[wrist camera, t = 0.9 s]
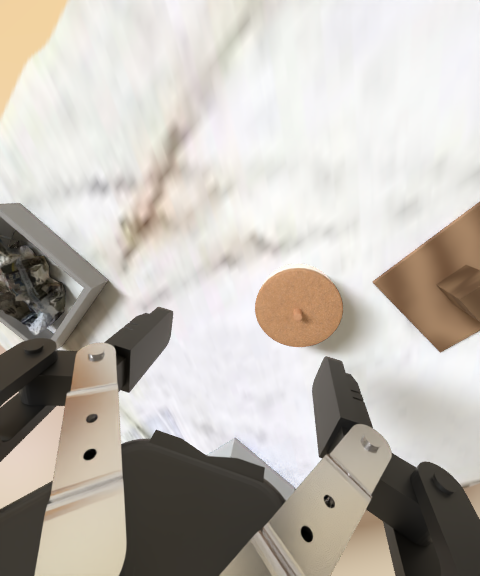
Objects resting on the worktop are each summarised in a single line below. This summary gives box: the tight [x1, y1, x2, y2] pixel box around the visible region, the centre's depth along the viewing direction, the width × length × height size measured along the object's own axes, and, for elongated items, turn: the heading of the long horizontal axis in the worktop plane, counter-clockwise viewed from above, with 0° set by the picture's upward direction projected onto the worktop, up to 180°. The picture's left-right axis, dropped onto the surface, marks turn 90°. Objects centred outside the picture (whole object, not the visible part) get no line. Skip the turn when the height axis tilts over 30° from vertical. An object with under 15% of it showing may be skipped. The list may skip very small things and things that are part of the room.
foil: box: [0, 235, 65, 335], centre depth 44 cm, size 12×11×15 cm
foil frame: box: [0, 203, 108, 349], centre depth 45 cm, size 21×19×4 cm
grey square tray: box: [207, 438, 294, 501], centre depth 54 cm, size 18×18×4 cm
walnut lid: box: [373, 202, 480, 352], centre depth 31 cm, size 15×15×6 cm
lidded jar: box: [255, 263, 343, 347], centre depth 33 cm, size 11×11×9 cm
